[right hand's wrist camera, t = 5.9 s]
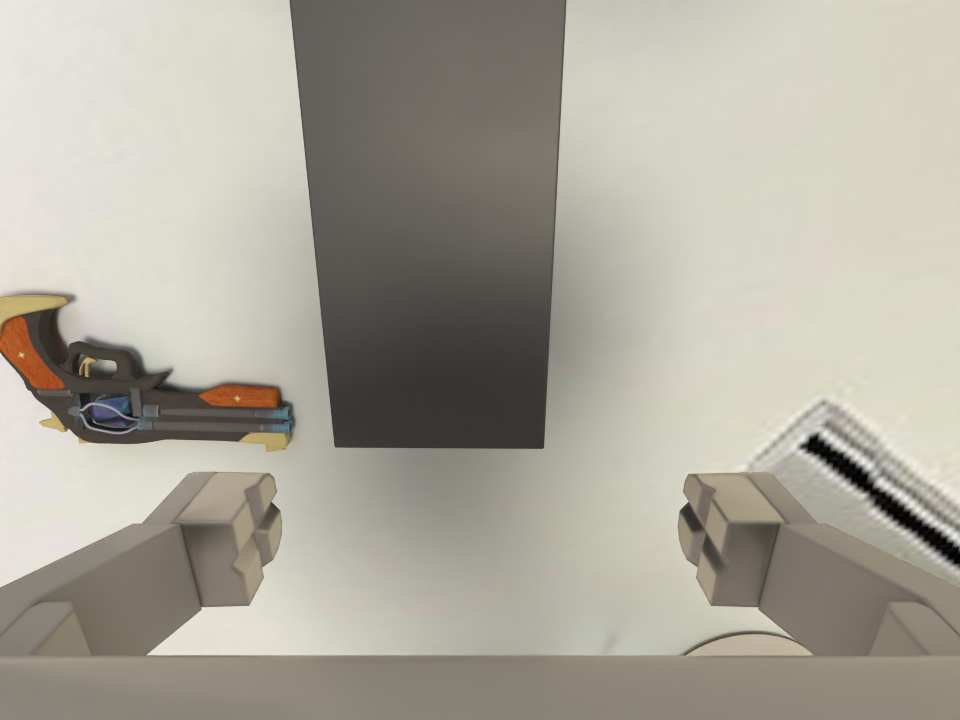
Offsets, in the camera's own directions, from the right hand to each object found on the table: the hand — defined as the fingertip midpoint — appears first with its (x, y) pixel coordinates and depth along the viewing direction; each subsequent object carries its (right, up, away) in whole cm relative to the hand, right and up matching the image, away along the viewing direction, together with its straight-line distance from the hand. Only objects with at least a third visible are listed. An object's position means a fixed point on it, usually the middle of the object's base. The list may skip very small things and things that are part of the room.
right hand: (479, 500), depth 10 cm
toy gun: (-22, +2, +25) cm, 34 cm away
